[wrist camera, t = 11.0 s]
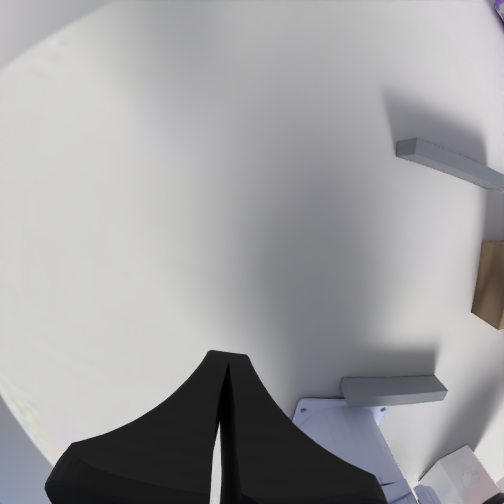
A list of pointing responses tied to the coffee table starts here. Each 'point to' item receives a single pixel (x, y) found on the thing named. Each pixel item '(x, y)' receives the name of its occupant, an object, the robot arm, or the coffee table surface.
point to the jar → (462, 480)
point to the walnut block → (490, 285)
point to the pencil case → (500, 8)
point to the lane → (428, 387)
